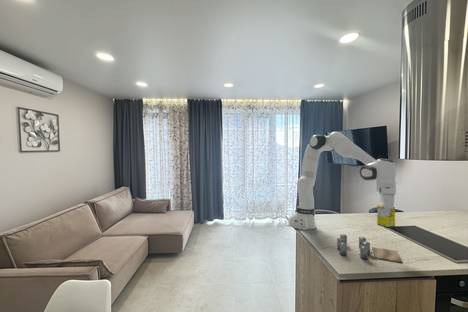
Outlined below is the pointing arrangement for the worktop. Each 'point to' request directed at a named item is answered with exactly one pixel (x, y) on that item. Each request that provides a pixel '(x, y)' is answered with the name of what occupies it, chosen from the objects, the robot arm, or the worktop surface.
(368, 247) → the spacer field
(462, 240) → the worktop surface
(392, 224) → the supplement box
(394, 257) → the walnut pad
